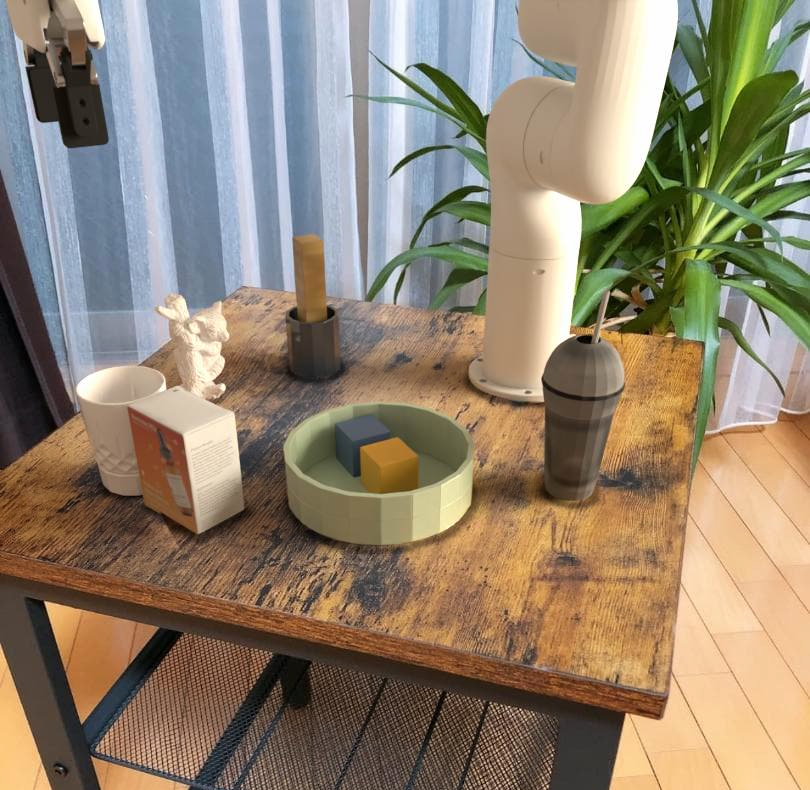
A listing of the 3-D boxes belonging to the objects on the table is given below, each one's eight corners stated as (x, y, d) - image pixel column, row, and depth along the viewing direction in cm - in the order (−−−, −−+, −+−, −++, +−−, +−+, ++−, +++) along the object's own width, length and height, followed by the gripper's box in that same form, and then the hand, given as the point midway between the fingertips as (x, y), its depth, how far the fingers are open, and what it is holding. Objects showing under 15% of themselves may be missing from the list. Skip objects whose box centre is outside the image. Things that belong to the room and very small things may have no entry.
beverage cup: (562, 464, 90) (586, 265, 79) (623, 493, 86) (658, 287, 75) (514, 491, 86) (532, 286, 75) (575, 523, 82) (604, 310, 70)
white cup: (160, 504, 84) (142, 408, 79) (81, 495, 86) (58, 399, 80) (193, 461, 91) (178, 369, 85) (119, 453, 92) (100, 362, 86)
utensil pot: (327, 355, 111) (324, 299, 107) (349, 374, 107) (347, 317, 103) (281, 365, 109) (277, 309, 105) (302, 385, 105) (298, 327, 100)
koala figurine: (185, 418, 98) (169, 311, 91) (152, 397, 102) (134, 293, 95) (250, 393, 103) (239, 290, 96) (216, 374, 107) (203, 274, 100)
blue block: (372, 449, 92) (371, 413, 89) (390, 467, 89) (390, 431, 86) (336, 458, 90) (334, 423, 88) (353, 477, 87) (352, 441, 85)
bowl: (414, 435, 95) (415, 387, 92) (507, 516, 83) (511, 464, 80) (260, 476, 88) (255, 426, 85) (336, 572, 76) (333, 517, 73)
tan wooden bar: (320, 359, 109) (313, 233, 100) (329, 367, 107) (323, 239, 98) (300, 364, 108) (291, 236, 99) (309, 372, 106) (301, 243, 97)
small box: (144, 506, 84) (123, 404, 78) (192, 482, 88) (177, 382, 81) (198, 540, 80) (181, 435, 74) (247, 513, 83) (235, 410, 77)
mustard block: (397, 472, 88) (397, 436, 86) (418, 492, 85) (418, 455, 83) (360, 483, 86) (359, 446, 84) (380, 503, 84) (379, 466, 81)
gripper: (107, -149, 55) (152, 150, 65) (48, -143, 68) (94, 108, 78) (-24, -151, 52) (44, 163, 62) (-61, -145, 65) (1, 116, 75)
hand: (71, 132), depth 70 cm, fingers open, 9 cm apart
